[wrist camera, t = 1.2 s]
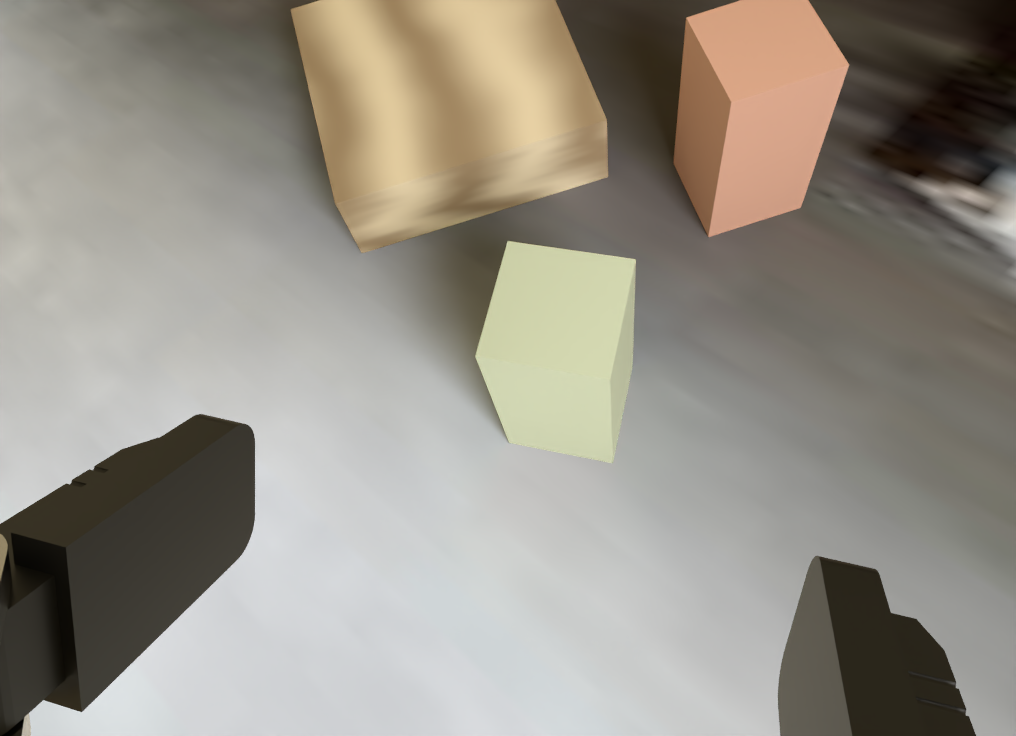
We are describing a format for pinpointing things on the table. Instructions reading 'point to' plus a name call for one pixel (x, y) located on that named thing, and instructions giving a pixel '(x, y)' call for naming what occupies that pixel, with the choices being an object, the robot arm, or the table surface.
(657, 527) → the table surface
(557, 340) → the sage-green block
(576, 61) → the birch plinth block
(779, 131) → the clay-red block
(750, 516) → the table surface
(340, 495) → the table surface
